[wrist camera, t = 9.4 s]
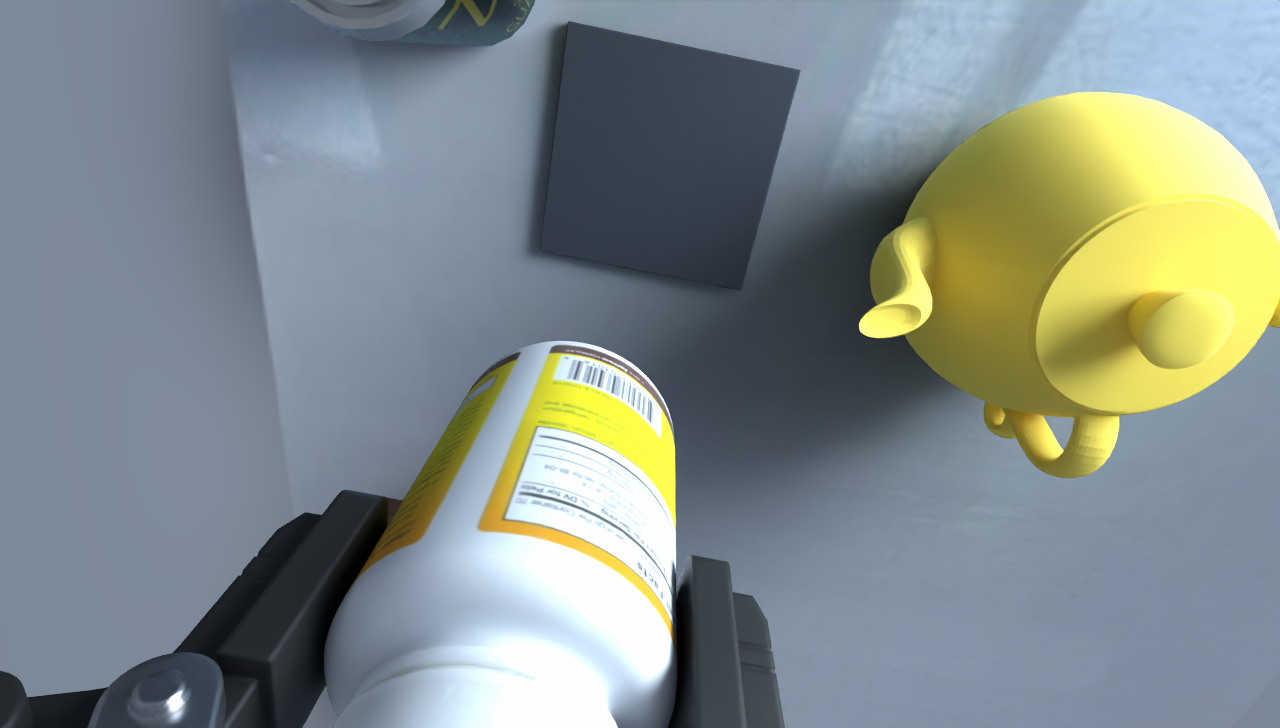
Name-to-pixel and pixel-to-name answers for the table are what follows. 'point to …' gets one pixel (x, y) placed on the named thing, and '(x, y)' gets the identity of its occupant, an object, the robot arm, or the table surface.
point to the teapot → (1081, 269)
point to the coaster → (662, 155)
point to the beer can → (423, 19)
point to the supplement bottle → (524, 562)
